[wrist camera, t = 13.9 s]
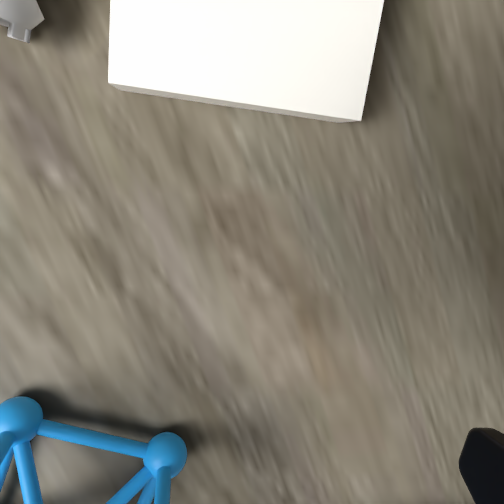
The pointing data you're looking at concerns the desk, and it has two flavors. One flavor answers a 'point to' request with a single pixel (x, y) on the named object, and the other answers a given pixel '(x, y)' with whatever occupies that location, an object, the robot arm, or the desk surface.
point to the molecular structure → (32, 423)
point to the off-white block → (248, 53)
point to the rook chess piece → (20, 17)
